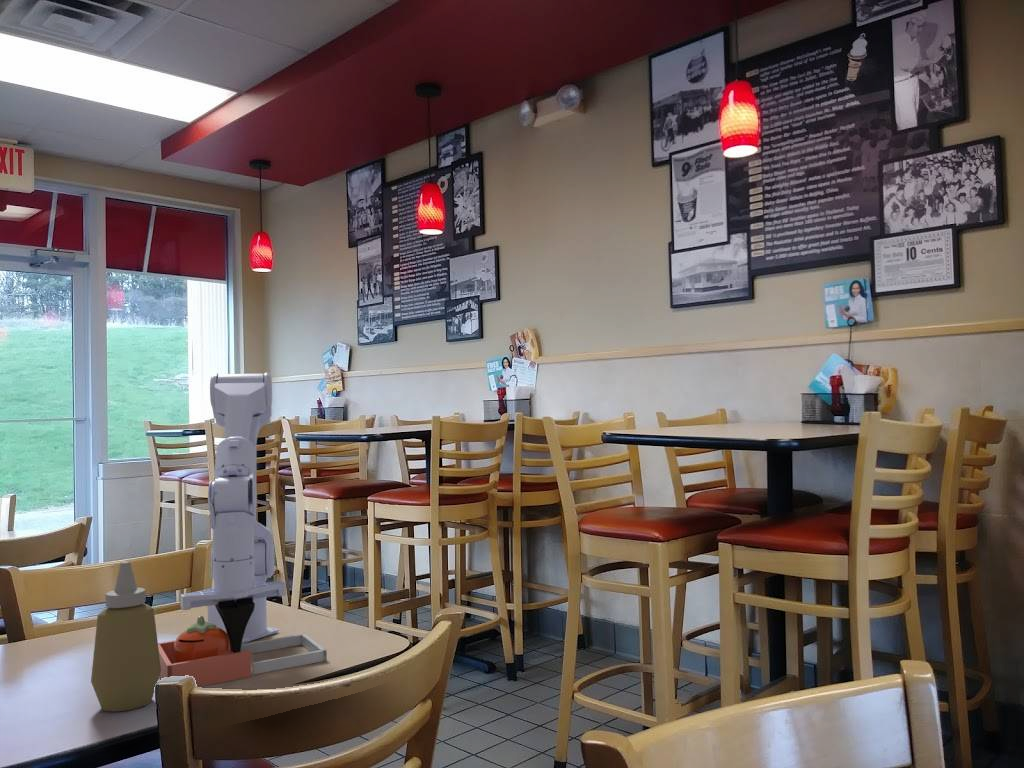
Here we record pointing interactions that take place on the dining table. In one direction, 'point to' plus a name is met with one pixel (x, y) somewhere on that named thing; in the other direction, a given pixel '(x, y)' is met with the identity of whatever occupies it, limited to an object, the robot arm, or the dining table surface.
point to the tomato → (200, 642)
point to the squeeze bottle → (125, 647)
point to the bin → (205, 665)
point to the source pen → (289, 661)
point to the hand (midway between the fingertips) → (235, 651)
